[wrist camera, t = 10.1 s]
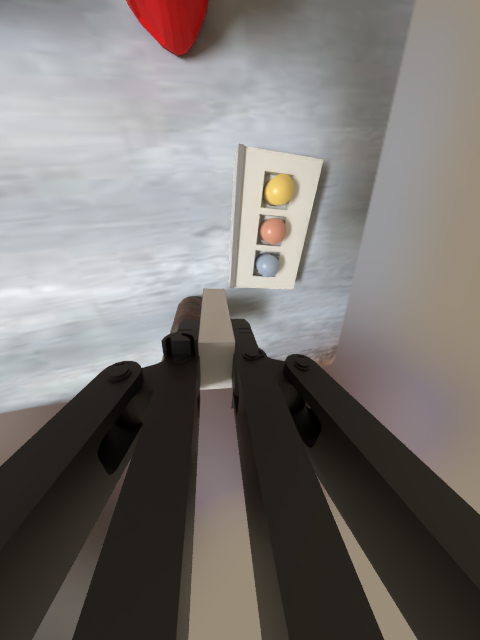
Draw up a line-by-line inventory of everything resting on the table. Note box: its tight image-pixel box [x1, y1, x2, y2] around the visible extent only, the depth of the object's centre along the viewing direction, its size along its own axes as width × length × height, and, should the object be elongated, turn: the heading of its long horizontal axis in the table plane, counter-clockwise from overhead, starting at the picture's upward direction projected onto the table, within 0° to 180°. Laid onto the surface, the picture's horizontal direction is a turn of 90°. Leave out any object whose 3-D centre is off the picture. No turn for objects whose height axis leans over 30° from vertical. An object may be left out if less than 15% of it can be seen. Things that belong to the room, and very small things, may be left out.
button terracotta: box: [259, 219, 286, 244], centre depth 33 cm, size 4×4×4 cm
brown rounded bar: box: [162, 297, 202, 361], centre depth 35 cm, size 8×7×20 cm
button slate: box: [255, 253, 280, 277], centre depth 36 cm, size 4×4×4 cm
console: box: [228, 144, 323, 289], centre depth 35 cm, size 22×14×6 cm, turn 175°
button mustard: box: [263, 173, 294, 206], centre depth 30 cm, size 4×4×4 cm
